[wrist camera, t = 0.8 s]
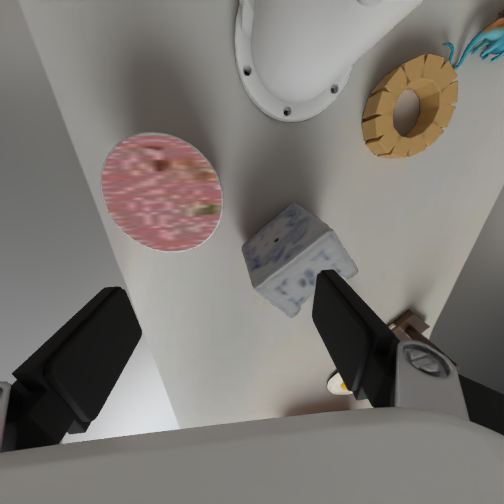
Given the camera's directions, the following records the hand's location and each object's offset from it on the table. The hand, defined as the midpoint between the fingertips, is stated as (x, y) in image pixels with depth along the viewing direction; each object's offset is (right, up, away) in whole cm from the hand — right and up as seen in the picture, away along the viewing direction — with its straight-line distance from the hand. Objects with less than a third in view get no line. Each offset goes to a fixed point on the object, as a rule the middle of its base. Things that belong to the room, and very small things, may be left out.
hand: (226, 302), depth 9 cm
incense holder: (+6, +4, +19) cm, 20 cm away
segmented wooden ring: (+19, +19, +13) cm, 30 cm away
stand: (+32, -13, +28) cm, 45 cm away
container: (-7, +10, +15) cm, 20 cm away
